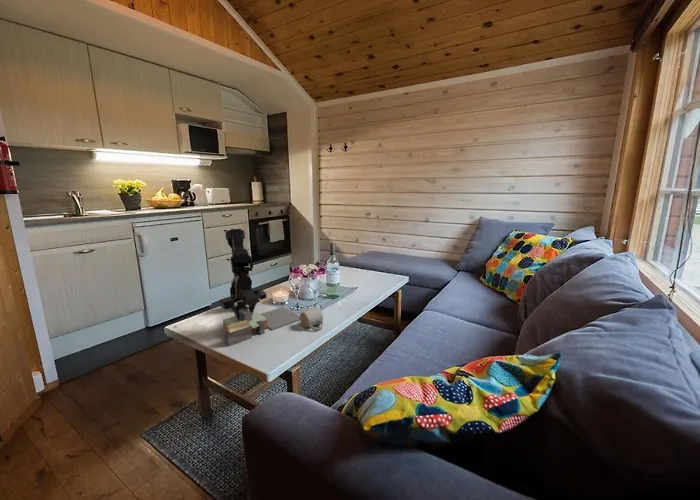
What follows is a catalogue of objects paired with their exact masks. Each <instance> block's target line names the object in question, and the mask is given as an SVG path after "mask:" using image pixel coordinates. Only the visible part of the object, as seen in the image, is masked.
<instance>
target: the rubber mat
mask: <svg viewBox="0 0 700 500" xmlns="http://www.w3.org/2000/svg"><path fill="white" fill-rule="evenodd" d="M259 314H260V315H262V316H264V317H266V318H267V329H269V330H271V331H275V330H278V329H280V328H283V327H285V326H288V325H291V324H294V323H297V322H299V321H300V314H298V313H296V312H293V311H292V310H290V309H288V308H286V307H284V306H281V307H277V308H275V309H272V310H269V311H265V312H263V313H259ZM300 322H301V321H300Z"/></svg>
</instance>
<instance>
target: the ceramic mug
mask: <svg viewBox="0 0 700 500" xmlns="http://www.w3.org/2000/svg"><path fill="white" fill-rule="evenodd" d="M322 312H323V311H322V310H321V309H320V307H318V306H313V307H312V308H308V309H306V310H304V311H302V312H301V313H300V314H299V315H300V324H301V326H303V328H310V330H312V331H316V332H318V331H321V330H322V329H323V326H324V323H323V322H324V314H323V313H322ZM317 325H320V327H315V326H317Z"/></svg>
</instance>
